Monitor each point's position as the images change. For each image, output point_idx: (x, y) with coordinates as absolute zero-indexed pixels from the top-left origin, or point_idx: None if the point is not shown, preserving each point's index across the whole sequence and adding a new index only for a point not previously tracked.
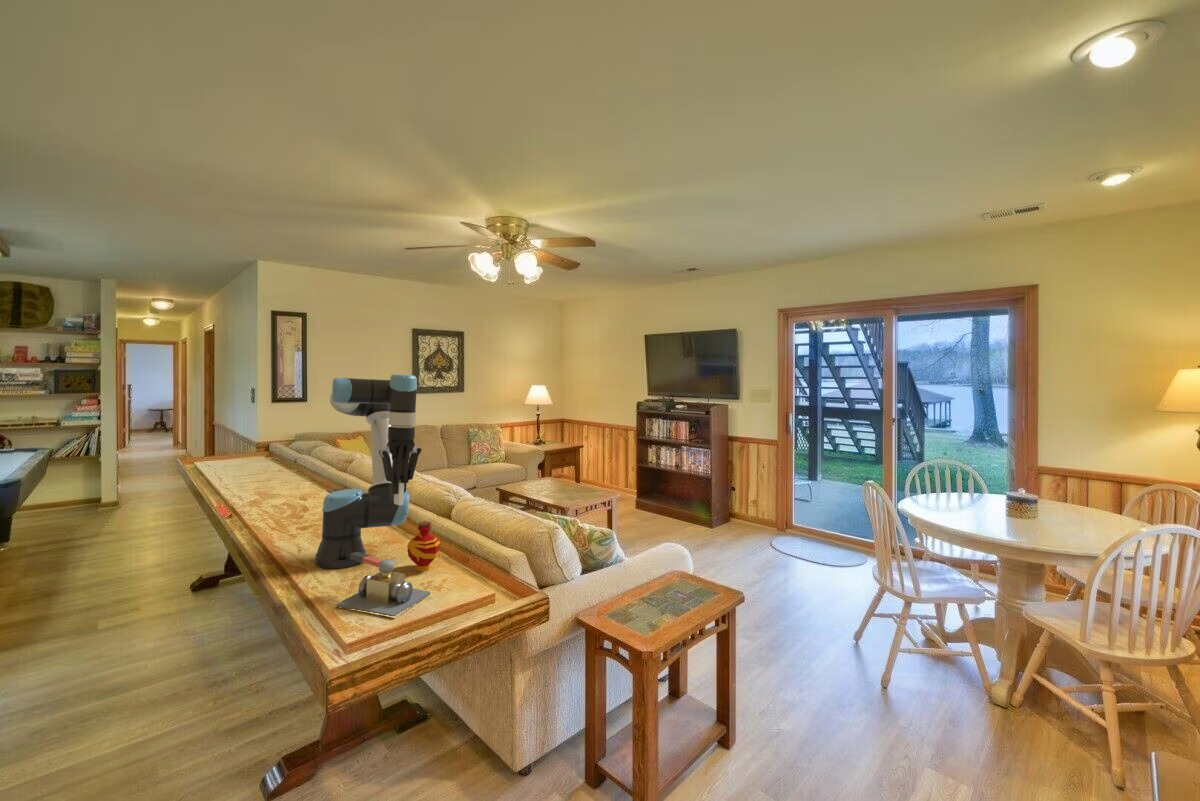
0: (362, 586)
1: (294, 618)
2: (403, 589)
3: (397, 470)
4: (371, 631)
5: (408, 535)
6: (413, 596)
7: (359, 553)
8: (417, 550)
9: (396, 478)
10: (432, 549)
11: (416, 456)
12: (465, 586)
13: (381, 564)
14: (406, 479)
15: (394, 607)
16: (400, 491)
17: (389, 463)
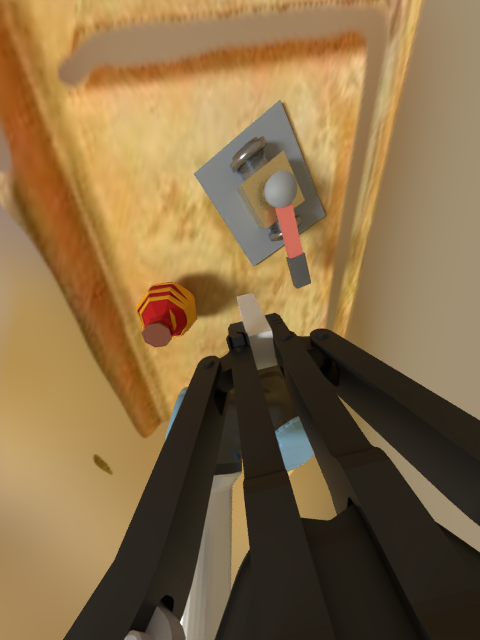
0: (299, 216)
1: (373, 211)
2: (255, 140)
3: (317, 378)
4: (324, 74)
5: (163, 414)
6: (226, 169)
7: (299, 276)
8: (184, 294)
9: (300, 345)
10: (156, 289)
11: (142, 545)
12: (123, 174)
13: (296, 181)
14: (236, 351)
15: (267, 139)
16: (258, 313)
17: (437, 412)
